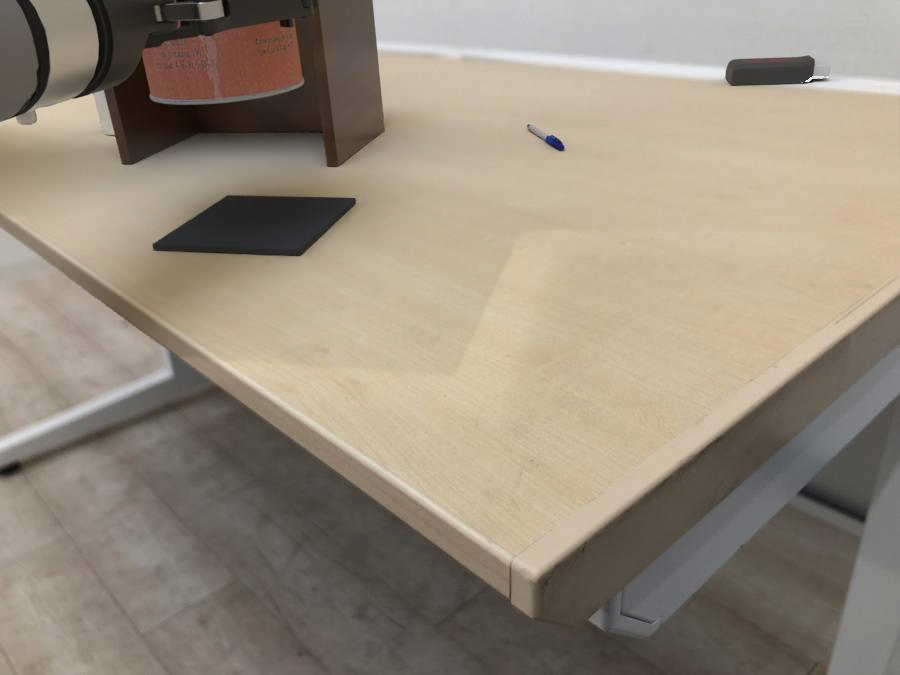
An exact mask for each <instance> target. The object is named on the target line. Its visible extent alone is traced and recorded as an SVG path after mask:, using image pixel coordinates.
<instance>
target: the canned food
mask: <svg viewBox="0 0 900 675" xmlns="http://www.w3.org/2000/svg"><path fill="white" fill-rule="evenodd" d="M175 2H176V0H174V3H175ZM293 23H294V27H291V28H289V27H280V21H275V22H269V23H263V24H258V25H252V26H246V27H241V28H235V29H230V30H226V31H223V32H219V33H215V34H213V36H204V35H199V36H197V37H192V38H185V39H178V40H171V41H165V42H164V43H163V44H162V45H161V46H159V47H154V48H147V49H144V50H143V53H142V57H143V62H144V66H145V71H146V75H147V79H148V84H149V88H150V99H151V100H153V101H155V102H158V103H163V104H173V105H202V104H218V103H228V102H237V101H245V100H251V99H258V98H263V97H268V96H273V95H277V94H281V93H285V92H288V91H291V90H294V89H296V88H299V87H300V86H302V85H303V84H304V78H303V77H302V71H301V64H300V57H299V49H298V42H297V35H296V28H295V21H294V18H293ZM179 26H180V21H178V26H177V28H179ZM177 28H176V29H177Z"/></svg>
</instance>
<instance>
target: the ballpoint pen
mask: <svg viewBox="0 0 900 675" xmlns="http://www.w3.org/2000/svg"><path fill="white" fill-rule="evenodd" d="M526 127H527V129H528V130H529V132H531V133H533V134H535V135H536V136H537V137H539V138H540V139H542V140H543V141H545V142H546V143H547V144H548V145H550V146H551V147H553V148H555V149H556V150H557V151H560V152H561V151H564V150H565V149H566V148H565V145H564V144H563V142H562V141H561V140H560V139H559V138H558V137H557V136H555V135H553V134H547V133H546V132H544V131H543V130H542V129H540V128H538V127H537V126H535V125H534V124H527V125H526Z"/></svg>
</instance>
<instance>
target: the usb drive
mask: <svg viewBox="0 0 900 675" xmlns="http://www.w3.org/2000/svg"><path fill="white" fill-rule="evenodd" d="M831 67H832V65H831V63H829V62H828V61H826V60H816V59H815V58H813V57H812V56H811V55H802V56H790V57H789V56H787V57H786V56H785V57H755V58H753V57H752V58H735V59H731V60H729V62H728V63H727V66H726V68H725V75H724V78H725V79H726V81H727V82H728V83H729V84H730V85H731V86H757V85H792V84H794V83H795V84H796V83H798V84H801V83H800V82H805V81H806V80H808V79H809V78H810V77H812V76H824V77H826V76H829V77H830V74H831ZM796 85H797V84H796Z"/></svg>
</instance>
